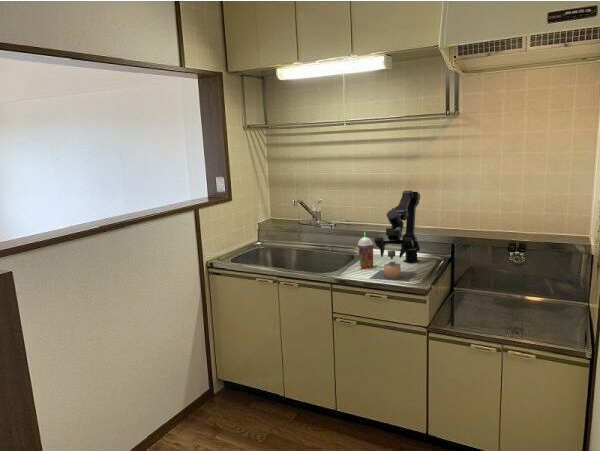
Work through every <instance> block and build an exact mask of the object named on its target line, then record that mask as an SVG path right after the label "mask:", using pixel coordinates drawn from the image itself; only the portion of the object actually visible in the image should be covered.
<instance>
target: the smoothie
mask: <svg viewBox="0 0 600 451" xmlns="http://www.w3.org/2000/svg"><path fill="white" fill-rule="evenodd" d="M357 249H358V256H359V257H358V258H359V264H360V266H359V267H361V269H362V268H363V269H362V270H364V269H371V268H373V266H374V242H373V241H372V239H371V238H370V237H367V236H366V231H364V232H363V237H361V238H360V239H359V240H358V243H357Z"/></svg>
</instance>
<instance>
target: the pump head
mask: <svg viewBox="0 0 600 451" xmlns="http://www.w3.org/2000/svg"><path fill="white" fill-rule="evenodd" d="M387 257H389V258H390V260H394V258H395V257H396V250H393V249H392V250H387Z"/></svg>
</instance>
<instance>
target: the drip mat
mask: <svg viewBox="0 0 600 451" xmlns="http://www.w3.org/2000/svg"><path fill="white" fill-rule="evenodd" d="M418 273H419V272H417V271H402V270H401V278H399V279H386V278H385V276H384V269H380V270H379V271H378V270H377V272H375V274H373V275H371V276H370V277H369V278H368V279H369V280H380V281H381V280H382V281H395V282H396V281H397V282H411V280H412V279H413V278H414V277H415V276H416V275H417V274H418Z"/></svg>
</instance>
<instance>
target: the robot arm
mask: <svg viewBox="0 0 600 451" xmlns="http://www.w3.org/2000/svg"><path fill="white" fill-rule="evenodd" d="M420 199H421V194H420V192H418V191H414V190H404V191H402V195H401V198H400V201H399V203H398V205H397V206H395V207H391V209H390V210H388V211H387V213H386V218H387V220H388V222H389V224H390V225H391V226H390V227H388V228H387V227H386V228H385V236H386V237H387V239H384V237H383V236H376V237H375V238H374V240H373V241H374V242H373V243H374V244H375V245H376V247H377V248H378V249H379V251H380V257H381V258H383V257H384V255H385V254H384V253H385V249H386V245H401V247H400V248H401V249H400V251H399V258H400V259H401V258H402V257H403V256H404V255H405V259H404V260H403V262H405V263H408V264H414V263H417V262H420V260H419V259H418V252H420V251H421V247H420V244H419V242H418V237H417V235H416V234H415V232H416V231H415V229H416V228H415V227H416V212H417V211H416V210H417V209H416V208H417V207H418V205H419V204H420ZM404 221H406V223H404ZM404 224H406V226H405V227H406V228H405V233H404V234H402V233H403V229H404ZM401 239H402V240H401Z"/></svg>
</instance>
